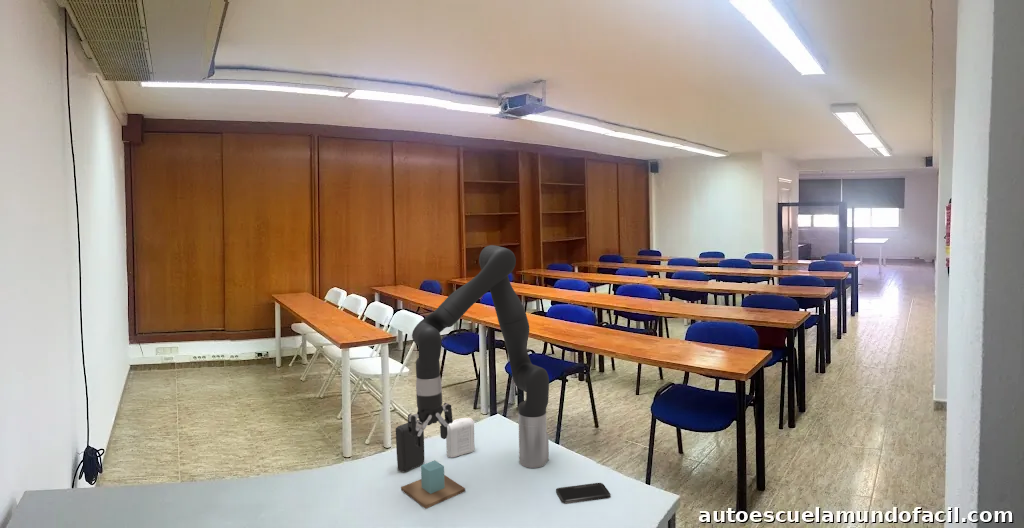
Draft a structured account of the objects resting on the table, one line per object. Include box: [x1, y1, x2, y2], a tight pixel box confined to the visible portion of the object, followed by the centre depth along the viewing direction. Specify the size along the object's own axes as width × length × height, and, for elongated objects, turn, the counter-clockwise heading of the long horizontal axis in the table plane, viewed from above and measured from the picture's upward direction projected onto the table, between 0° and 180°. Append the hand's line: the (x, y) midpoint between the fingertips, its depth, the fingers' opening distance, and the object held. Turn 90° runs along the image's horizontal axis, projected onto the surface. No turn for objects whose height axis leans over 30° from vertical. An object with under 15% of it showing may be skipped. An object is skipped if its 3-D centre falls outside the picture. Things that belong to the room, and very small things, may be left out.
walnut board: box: [400, 474, 466, 510], centre depth 164 cm, size 14×14×1 cm
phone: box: [555, 482, 611, 505], centre depth 161 cm, size 8×1×15 cm
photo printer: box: [445, 417, 476, 458], centre depth 189 cm, size 10×4×12 cm, turn 123°
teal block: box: [420, 460, 445, 494], centre depth 164 cm, size 5×5×7 cm
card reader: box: [395, 419, 425, 473], centre depth 179 cm, size 9×4×15 cm, turn 136°
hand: (431, 442), depth 163 cm, fingers open, 8 cm apart
